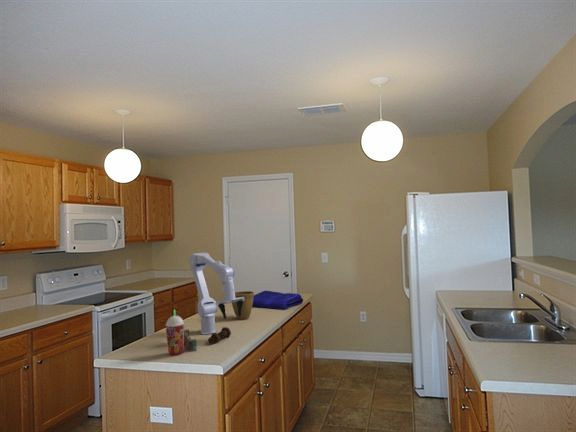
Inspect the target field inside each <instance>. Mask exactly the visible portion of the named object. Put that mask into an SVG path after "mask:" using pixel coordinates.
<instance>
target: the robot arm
mask: <svg viewBox="0 0 576 432" xmlns="http://www.w3.org/2000/svg"><path fill="white" fill-rule="evenodd" d="M188 263H189V266H190V270H192V275H193V278H194V281H195V282H194V283H195V285H196V289H197V292H198V295H199V296H198V297H199V299H200V300H199V301H198V302H197V304H196V306H197V314H198V316H199V317H200V330H199V332H200V333H201V335H203V336H204V335H212V334H214V333H218V332H217V330H216V321H215V320H216V318H215V317H216V315H217V313H218V308H219V310H220V312H221V314H222V316H223V319H224V320H226V319H227V315H226V314H227V313H226V305H227V304H232V303H233V302H237V308H238V316H241V308H242V305H243V301H244V297H239V298H235V292H236V291H235V283H234V276H235V269H234V267H232V266H227V265H226V264H223V262H222V261H220V260H216V261H215V260H214V258H212V257H211V256H210V254H209V252H207V251H206V252H197V253H191V254H190V255H189V258H188ZM206 266H210V267H211V269H212V271H213V272H215V273H216V274H218V277H219V279H220V282H221V283H222V290H223V297H224V298H223V300H217V301H216V300H215V299H214V298H213V297H210V293H209V289H208V286H207V283H206V280H205V276H204V272H203V270H204V269H205V268H206ZM231 301H233V302H231ZM225 304H226V305H225Z"/></svg>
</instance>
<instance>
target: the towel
mask: <svg viewBox="0 0 576 432" xmlns="http://www.w3.org/2000/svg"><path fill="white" fill-rule="evenodd" d="M303 298H304V297H302V295H301V294H300V293H291V292H287V293H283V292H279V291H271V290H263V291H260V292H258V293H257V294H254V297H253V304H252V308H260V307H261V308H263V309H264V308H265V309H273V308H274V309H276V310H289V309H290V308H291V307H294V306H299V305H302V304H303V302H304V299H303Z"/></svg>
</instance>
